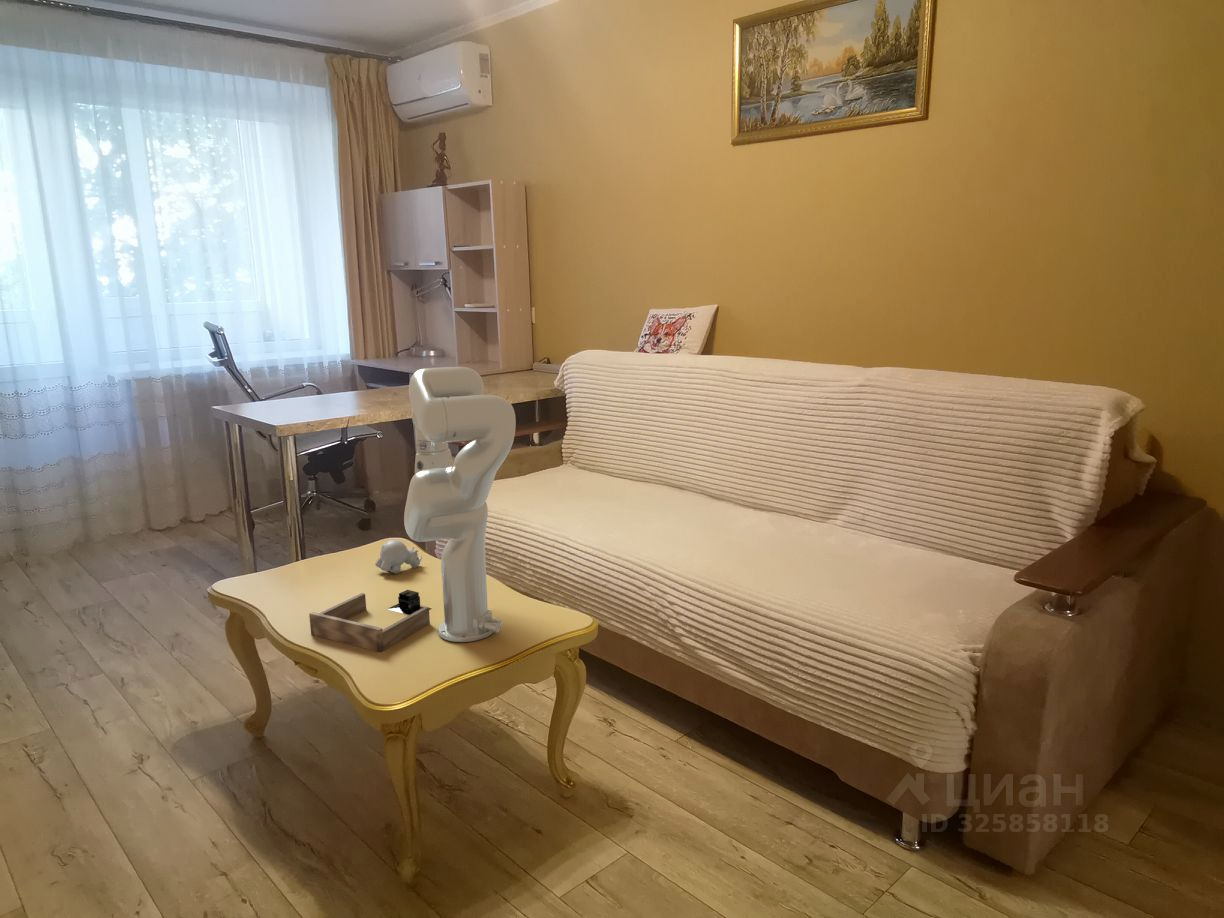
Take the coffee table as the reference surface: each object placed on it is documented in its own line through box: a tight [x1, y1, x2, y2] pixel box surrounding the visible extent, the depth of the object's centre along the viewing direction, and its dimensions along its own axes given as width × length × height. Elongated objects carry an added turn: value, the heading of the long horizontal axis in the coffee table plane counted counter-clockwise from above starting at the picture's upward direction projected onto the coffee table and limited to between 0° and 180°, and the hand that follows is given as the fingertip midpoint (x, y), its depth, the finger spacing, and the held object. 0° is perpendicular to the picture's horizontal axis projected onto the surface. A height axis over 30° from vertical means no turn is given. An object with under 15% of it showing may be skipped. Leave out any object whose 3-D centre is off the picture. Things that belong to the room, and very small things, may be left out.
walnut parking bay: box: [308, 592, 431, 653], centre depth 179 cm, size 20×16×5 cm
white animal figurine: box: [375, 539, 423, 575], centre depth 217 cm, size 7×12×8 cm, turn 124°
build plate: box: [386, 589, 433, 616], centre depth 191 cm, size 12×7×5 cm, turn 59°
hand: (436, 518), depth 197 cm, fingers open, 3 cm apart
